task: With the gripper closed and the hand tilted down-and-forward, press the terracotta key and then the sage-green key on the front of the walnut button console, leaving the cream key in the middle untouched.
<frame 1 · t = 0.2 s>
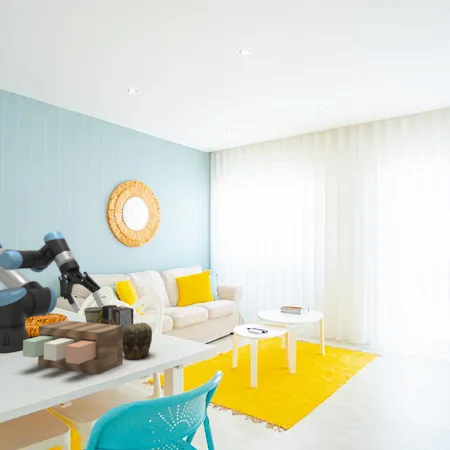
hand: (90, 308, 162), 16 cm above the table, tool tilted 35°, fingers open, 13 cm apart
console: (80, 364, 138), on the table
key terracotta: (82, 351, 127), point 8 cm above the table, slide at 0.0 cm
deodorant: (109, 342, 170), on the table
key sage: (40, 345, 134), point 8 cm above the table, slide at 0.0 cm
key cream: (60, 348, 130), point 8 cm above the table, slide at 0.0 cm
coffee box: (120, 349, 158), on the table
ceramic cup: (96, 329, 195), on the table
shell: (137, 356, 148), on the table
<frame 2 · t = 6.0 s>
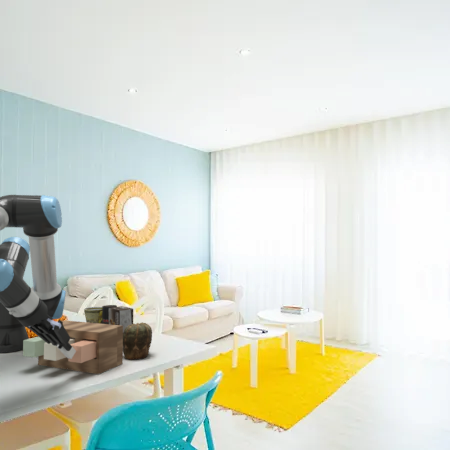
hand: (72, 354, 122), 8 cm above the table, tool tilted 45°, fingers closed
key terracotta: (85, 350, 128), point 8 cm above the table, slide at 1.1 cm, touching gripper
everything else where it was.
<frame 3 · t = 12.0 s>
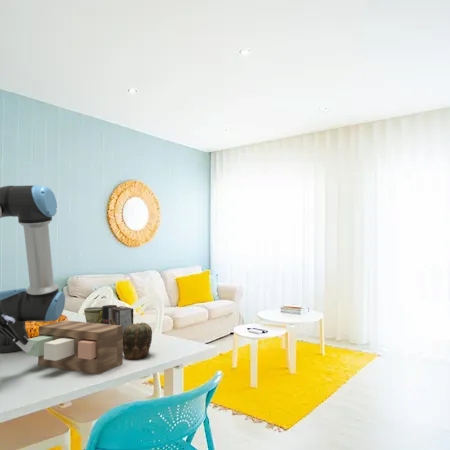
hand: (29, 348, 130), 8 cm above the table, tool tilted 45°, fingers closed
key terracotta: (93, 347, 131), point 8 cm above the table, slide at 5.2 cm
key sage: (43, 344, 135), point 8 cm above the table, slide at 1.4 cm, touching gripper
everything else where it was.
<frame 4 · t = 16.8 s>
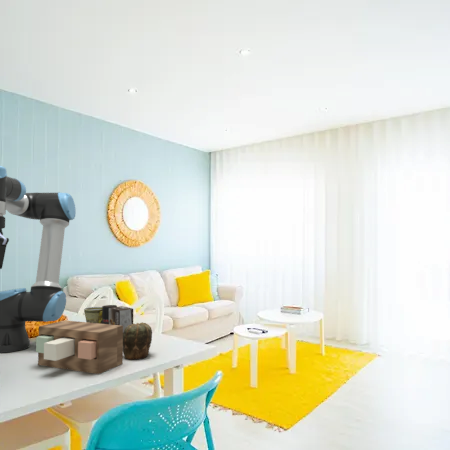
key sage: (52, 342, 138), point 7 cm above the table, slide at 5.2 cm
everything else where it was.
at the end: key terracotta slide at 5.2 cm; key sage slide at 5.2 cm; key cream slide at 0.0 cm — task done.
